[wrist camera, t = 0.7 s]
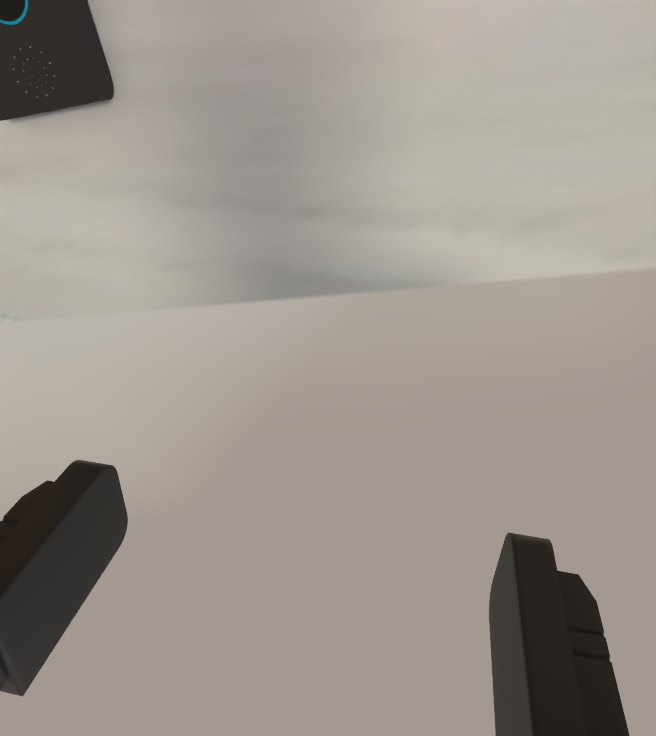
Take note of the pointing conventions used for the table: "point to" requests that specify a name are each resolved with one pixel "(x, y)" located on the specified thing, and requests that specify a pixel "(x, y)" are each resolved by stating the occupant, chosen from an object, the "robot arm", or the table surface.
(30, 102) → the smart home device
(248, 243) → the table surface
